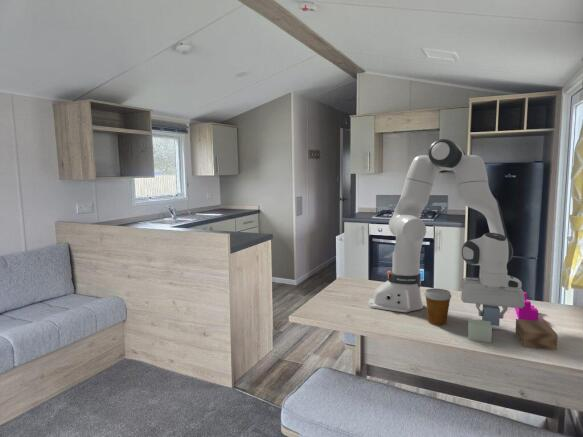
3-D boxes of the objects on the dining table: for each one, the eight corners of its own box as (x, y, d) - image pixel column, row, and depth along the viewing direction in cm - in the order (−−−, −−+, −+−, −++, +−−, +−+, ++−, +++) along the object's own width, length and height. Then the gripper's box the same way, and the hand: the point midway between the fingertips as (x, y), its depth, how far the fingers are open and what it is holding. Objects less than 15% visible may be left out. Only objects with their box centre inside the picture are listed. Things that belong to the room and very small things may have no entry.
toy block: (537, 323, 149) (538, 303, 149) (518, 320, 152) (519, 301, 151) (532, 310, 163) (533, 292, 162) (514, 309, 165) (515, 291, 165)
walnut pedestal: (524, 346, 128) (524, 331, 128) (515, 333, 139) (516, 319, 139) (556, 349, 125) (557, 334, 125) (545, 335, 137) (545, 321, 136)
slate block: (483, 324, 142) (484, 308, 141) (481, 319, 147) (482, 303, 146) (499, 326, 140) (500, 309, 140) (497, 321, 145) (498, 305, 144)
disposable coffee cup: (453, 327, 145) (454, 295, 144) (426, 326, 147) (426, 294, 146) (448, 318, 155) (448, 288, 154) (422, 317, 156) (422, 287, 155)
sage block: (468, 340, 135) (468, 325, 134) (467, 332, 141) (468, 318, 141) (491, 342, 132) (492, 328, 132) (489, 335, 138) (490, 321, 138)
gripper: (461, 278, 142) (459, 316, 144) (527, 284, 136) (524, 323, 137) (460, 274, 148) (458, 310, 150) (523, 279, 142) (520, 317, 143)
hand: (490, 316), depth 143 cm, fingers closed on slate block, 5 cm apart
